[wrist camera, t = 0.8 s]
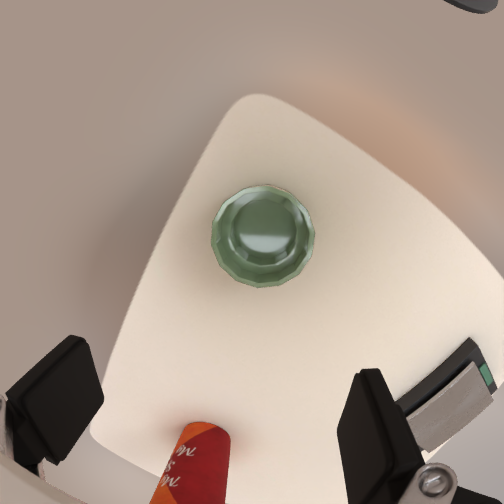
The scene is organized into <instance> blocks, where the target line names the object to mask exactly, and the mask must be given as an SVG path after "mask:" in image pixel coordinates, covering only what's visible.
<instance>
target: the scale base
mask: <svg viewBox="0 0 504 504" xmlns="http://www.w3.org/2000/svg"><path fill="white" fill-rule="evenodd" d="M472 361H473V362H474V363H475V364H476V366H477V368H478V370H479V372H480V374H481V376H482V378H483V380H484V382H485V384H486V386H487V388H488V390H489V392H490V394H491V395H492V394H493V393H494V392H495V391H496V390H497V386H496V384H495V381H494V379H493V377H492V374H491V372H490V370H489V368H488V366H487V363H486V361H485V359H484V357H483V355H482V353H481V351H480V349H479V347H478V345H477V344H476V343H475V342H474V341H473V340H472V339H471V338H470V337H469V338H468V339H467V340H466V341H465V342H464V343H463V344H462V345H461V346H460V347H459V348H458V349H457V350H456V351H455V352H454V353H453V354H452V355H451V356H450V357H449V358H448V359H447V360H446V361H445V362H444V363H442V364H441V365H440V366H439V367H438V368H437V369H436V370H435V371H434V372H432V373H431V374H430V375H429V376H428V377H427V378H425V379H424V380H423V381H422V382H421V383H419V384H418V385H417V386H416V387H414V388H413V389H412V390H411V391H409V392H408V393H407V394H406V395H404V396H403V397H402V398H400V399H399V400H398V401H396V402H395V404H398V405H400V407H401V408H402V410H403V412H404V414H405V417H408V416H409V415H410V414H412V413H413V412H414V411H416V410H417V409H418V408H420V407H421V406H422V405H424V404H425V403H426V402H427V401H429V400H430V399H431V398H432V397H434V396H435V395H436V394H437V393H438V392H440V391H441V390H442V389H443V388H444V387H445V386H447V385H448V384H449V383H450V382H451V381H452V380H453V379H454V378H456V377H457V376H458V375H459V374H460V373H461V372H462V371H463V370H464V369H465V368H466V367H467V366H468V365H469V364H470V363H471V362H472ZM418 447H419V449H420V452H421V451H423V450H424V449H423V448H422V447H420V446H419V445H418Z"/></svg>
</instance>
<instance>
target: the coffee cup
mask: <svg viewBox="0 0 504 504" xmlns="http://www.w3.org/2000/svg"><path fill="white" fill-rule="evenodd" d="M230 442H231V441H230V436H229V434H228V433H227V432H226V431H225V430H223V429H222V428H220V427H218V426H216V425H213V424H210V423H205V422H195V423H191V424H188V425H187V426H186V427H185V428H184V430H183V432H182V434H181V436H180V438H179V440H178V442H177V444H176V447H175V449H174V451H173V453H172V455H171V457H170V460H169V462H168V464H167V466H166V468H165V470H164V473H163V475H162V477H161V479H160V481H159V484H158V486H157V488H156V490H155V492H154V495H153V497H152V499H151V501H150V503H149V504H225V497H226V487H227V477H228V467H229V457H230Z"/></svg>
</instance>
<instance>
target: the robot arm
mask: <svg viewBox="0 0 504 504" xmlns="http://www.w3.org/2000/svg"><path fill="white" fill-rule="evenodd" d="M6 396H7V397H8V400H7V401H5V399H4V397H3V396H1V395H0V504H87V503H85V502H83V501H80V500H79V499H77V498H74V497H73V496H71V495H69V494H67V493H65V492H63V491H61V490H59V489H57V488H56V487H54V486H52V485H51V484H49V483H47V482H46V480H45V475H44V469H43V463H42V460H43V458H44V457H45V458H46V460H47V461H49V462H51V463H53V464H55V465H56V466H57V465H58V464H59V462H60V461H63V460H64V459H65V458H66V457H67V455H68V454H69V452H70V451H71V449H72V448H73V446H74V445H75V443H76V442H77V440H78V439H79V437H80V436H81V434H82V433H83V432H84V430H85V428H86V427H87V426H88V424H89V423H90V421H91V420H92V419H93V417H94V416H95V414H96V413H97V411H98V410H99V408H100V407H101V406H102V404H103V402H104V394H103V391H102V388H101V385H100V382H99V379H98V376H97V372H96V369H95V366H94V362H93V358H92V355H91V351H90V347H89V344H88V343H87V342H86V340H85V339H84V338H82V337H78V336H74V335H69V336H68V337H67V338H65V339H64V340H63V341H62V342H61V343H60V344H58V345H57V346H56V347H55V348H54V349H53V350H52V351H50V352H49V353H48V354H47V355H46V356H45V357H44V358H43V359H41V360H40V361H39V362H38V363H37V364H36V365H35V366H34V367H33V368H32V369H30V370H29V371H28V372H27V373H26V374H25V375H24V376H23V377H22V378H21V379H20V380H19V381H17V382H16V383H15V384H14V385H13V386H12V387H11V388H10V389H9V390H8V391H7V392H6ZM337 437H338V443H339V448H340V454H341V460H342V466H343V472H344V478H345V484H346V491H347V497H348V504H502V503H501V502H500V501H499V500H497V499H495V498H491V497H488V496H485V495H482V494H479V493H476V492H473V491H470V490H468V489H465V488H462V487H459V486H457V483H458V481H457V476H456V474H455V472H454V471H453V470H452V469H451V468H450V467H449V466H447V465H445V464H442V463H429V464H425V462H424V459H423V457H422V454H421V452H420V449H419V447H418V444H417V442H416V440H415V437H414V435H413V433H412V430H411V428H410V426H409V424H408V421H407V419H406V417H405V414H404V412H403V410H402V408H401V407H400V405H398V404H395V402H394V400H393V397H392V395H391V393H390V391H389V389H388V386H387V384H386V382H385V380H384V378H383V376H382V374H381V371H380V370H379V369H378V368H373V369H362V370H361V371H360V373H356V374H355V376H354V379H353V382H352V385H351V388H350V392H349V395H348V398H347V401H346V404H345V407H344V410H343V413H342V415H341V418H340V421H339V424H338V427H337Z"/></svg>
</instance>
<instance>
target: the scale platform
mask: <svg viewBox="0 0 504 504" xmlns="http://www.w3.org/2000/svg"><path fill="white" fill-rule="evenodd" d="M491 402H493V399H492V396H491V394H490V392H489V390H488V388H487V386H486V384H485V382H484V380H483V378H482V376H481V374H480V372H479V370H478V368H477V366H476V364H475V363H474V362H473V361H472V362H471V363H470V364H469V365H468V366H467V367H466V368H465V369H464V370H463V371H462V372H461V373H460V374H459V375H458V376H457V377H456V378H454V379H453V380H452V381H451V382H450V383H449V384H448V385H447V386H445V387H444V388H443V389H442V390H441V391H440V392H438V393H437V394H436V395H435V396H434V397H432V398H431V399H430V400H429V401H427V402H426V403H425V404H424V405H422V406H421V407H420V408H418V409H417V410H416V411H414V412H413V413H412V414H410V415H409V416H408V417H406V419H407V421H408V424H409V426H410V428H411V430H412V433H413V435H414V437H415V440H416V442H417V444H418V445H419V446H420V447H422V448H423V449H424V450H426V451H427V452H428V453H430V452H431V451H433V450H434V449H436V448H437V447H438V446H440V445H441V444H443V443H444V442H445V441H447V440H448V439H449V438H451V437H452V436H453V435H455V434H456V433H457V432H458V431H460V430H461V429H462V428H463V427H464V426H466V425H467V424H468V423H469V422H471V421H472V420H473V419H474V418H475V417H476V416H477V415H479V414H480V413H481V412H482V411H483V410H484V409H485V408H486V407H487V406H489V405H490V404H491Z"/></svg>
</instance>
